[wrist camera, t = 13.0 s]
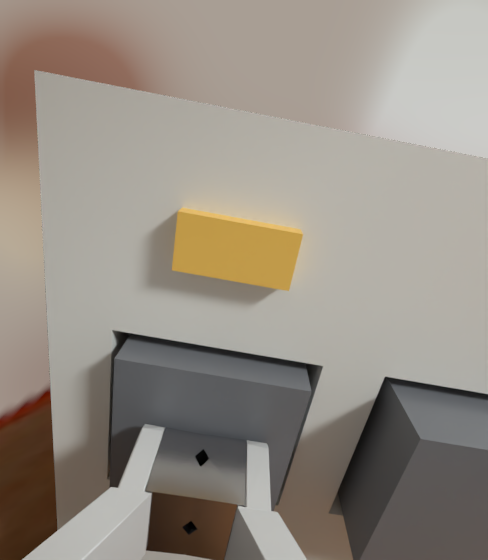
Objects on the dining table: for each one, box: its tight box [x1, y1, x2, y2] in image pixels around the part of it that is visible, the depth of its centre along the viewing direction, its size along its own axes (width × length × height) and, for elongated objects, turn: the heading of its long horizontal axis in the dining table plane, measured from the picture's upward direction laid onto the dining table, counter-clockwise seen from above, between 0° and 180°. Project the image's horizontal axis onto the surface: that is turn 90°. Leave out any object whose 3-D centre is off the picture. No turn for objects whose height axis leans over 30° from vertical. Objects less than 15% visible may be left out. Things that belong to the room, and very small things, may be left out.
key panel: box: [35, 70, 488, 560], centre depth 14 cm, size 21×9×18 cm, turn 88°
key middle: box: [338, 377, 488, 560], centre depth 9 cm, size 4×4×4 cm
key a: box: [110, 333, 312, 511], centre depth 10 cm, size 4×4×4 cm
